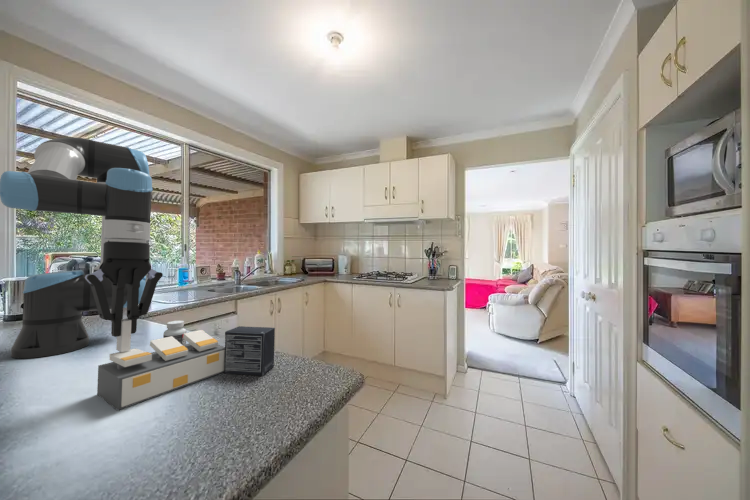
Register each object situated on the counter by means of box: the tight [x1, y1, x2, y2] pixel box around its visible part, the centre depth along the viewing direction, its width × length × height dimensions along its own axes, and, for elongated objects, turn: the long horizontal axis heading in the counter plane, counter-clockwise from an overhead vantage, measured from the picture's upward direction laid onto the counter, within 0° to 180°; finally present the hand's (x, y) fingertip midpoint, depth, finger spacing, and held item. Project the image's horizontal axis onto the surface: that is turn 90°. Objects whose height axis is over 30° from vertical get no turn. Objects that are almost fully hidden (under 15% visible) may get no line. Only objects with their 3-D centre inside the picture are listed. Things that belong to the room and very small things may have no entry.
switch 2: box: [149, 336, 188, 361], centre depth 64 cm, size 8×4×1 cm, turn 59°
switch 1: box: [109, 348, 152, 367], centre depth 58 cm, size 8×4×1 cm, turn 59°
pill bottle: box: [162, 320, 187, 345], centre depth 80 cm, size 5×5×10 cm
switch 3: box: [183, 329, 219, 352], centre depth 70 cm, size 8×4×1 cm, turn 59°
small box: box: [223, 325, 276, 377], centre depth 72 cm, size 11×6×10 cm, turn 84°
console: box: [96, 343, 225, 411], centre depth 64 cm, size 11×21×7 cm, turn 149°
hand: (123, 349), depth 60 cm, fingers closed
